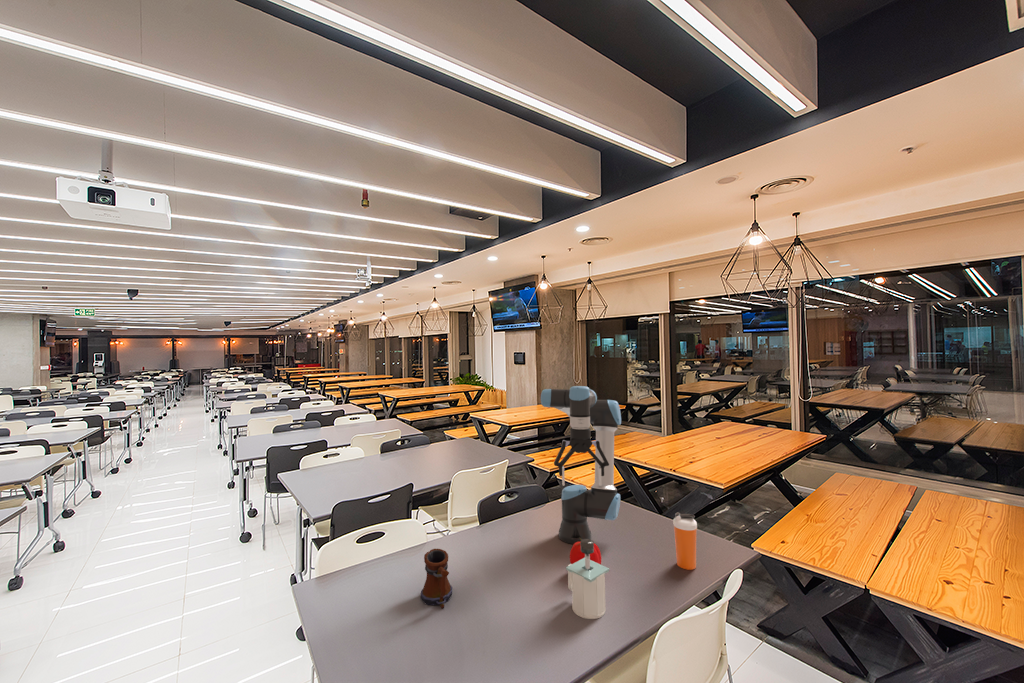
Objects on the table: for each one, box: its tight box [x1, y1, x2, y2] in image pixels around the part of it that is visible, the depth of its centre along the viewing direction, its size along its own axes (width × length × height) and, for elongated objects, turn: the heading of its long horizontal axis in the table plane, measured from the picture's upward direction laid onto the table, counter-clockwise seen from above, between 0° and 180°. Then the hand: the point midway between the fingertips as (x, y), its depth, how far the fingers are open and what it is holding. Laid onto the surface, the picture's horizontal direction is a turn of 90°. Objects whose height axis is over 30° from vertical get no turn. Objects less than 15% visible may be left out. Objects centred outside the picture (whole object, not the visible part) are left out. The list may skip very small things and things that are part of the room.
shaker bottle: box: [672, 511, 698, 571], centre depth 162 cm, size 9×9×20 cm
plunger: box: [580, 538, 594, 571], centre depth 135 cm, size 8×8×18 cm
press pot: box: [565, 558, 610, 620], centre depth 136 cm, size 14×11×13 cm
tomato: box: [569, 539, 602, 565], centre depth 156 cm, size 12×12×13 cm
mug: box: [420, 548, 453, 609], centre depth 141 cm, size 18×12×15 cm, turn 25°
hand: (581, 484), depth 151 cm, fingers open, 13 cm apart
